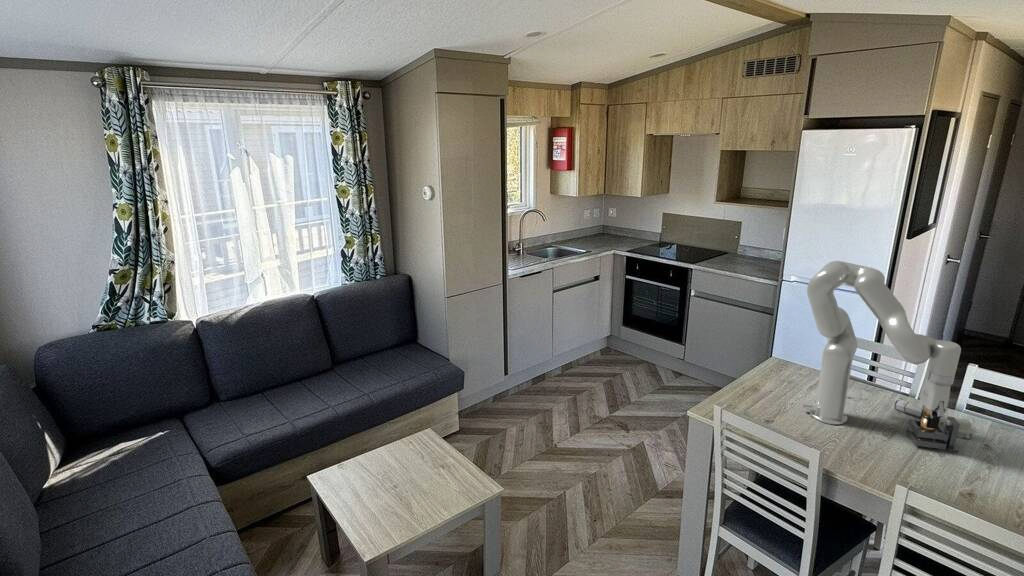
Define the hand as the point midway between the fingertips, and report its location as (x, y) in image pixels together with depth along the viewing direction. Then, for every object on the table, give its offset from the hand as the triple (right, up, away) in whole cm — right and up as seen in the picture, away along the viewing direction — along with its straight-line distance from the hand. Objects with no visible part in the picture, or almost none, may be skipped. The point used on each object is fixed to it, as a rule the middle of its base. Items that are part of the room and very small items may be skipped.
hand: (928, 423), depth 188 cm
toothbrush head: (+12, -4, +14) cm, 19 cm away
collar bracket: (+2, -8, +2) cm, 8 cm away
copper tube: (0, -6, +2) cm, 6 cm away
